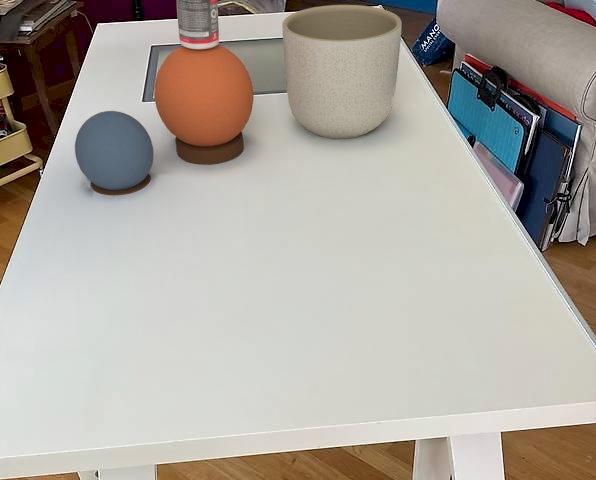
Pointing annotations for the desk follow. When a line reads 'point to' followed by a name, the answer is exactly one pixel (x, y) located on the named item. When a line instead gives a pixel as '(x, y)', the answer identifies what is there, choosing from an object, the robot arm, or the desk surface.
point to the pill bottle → (198, 23)
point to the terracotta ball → (204, 103)
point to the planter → (341, 67)
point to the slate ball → (114, 153)
